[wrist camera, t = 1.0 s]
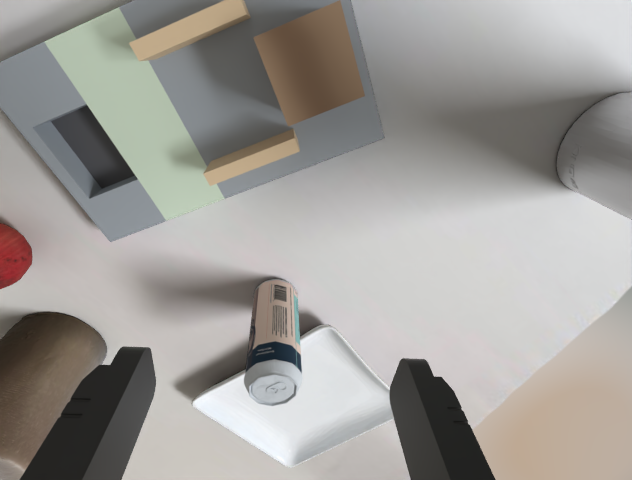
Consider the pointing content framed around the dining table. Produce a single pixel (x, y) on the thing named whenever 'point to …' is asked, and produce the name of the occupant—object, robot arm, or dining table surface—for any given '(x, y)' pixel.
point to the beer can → (274, 345)
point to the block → (311, 63)
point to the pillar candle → (40, 381)
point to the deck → (172, 108)
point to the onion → (13, 256)
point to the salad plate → (306, 403)
